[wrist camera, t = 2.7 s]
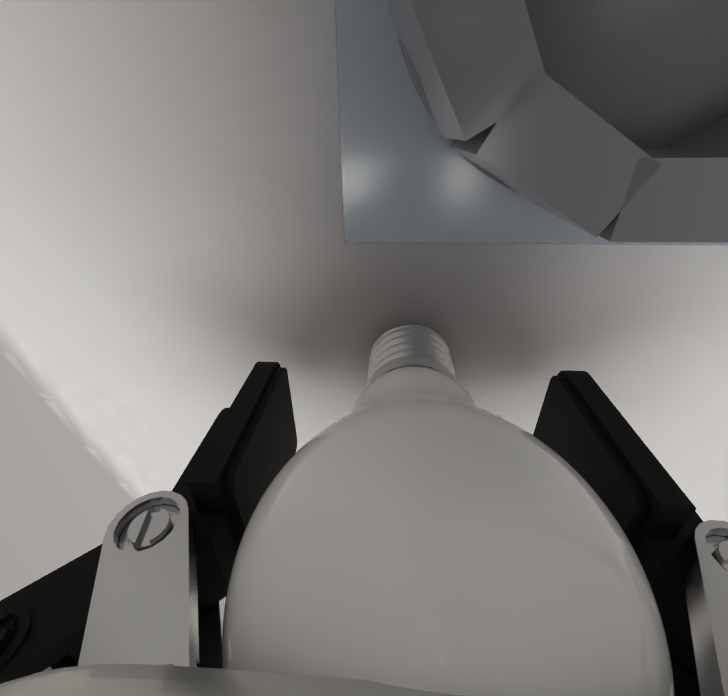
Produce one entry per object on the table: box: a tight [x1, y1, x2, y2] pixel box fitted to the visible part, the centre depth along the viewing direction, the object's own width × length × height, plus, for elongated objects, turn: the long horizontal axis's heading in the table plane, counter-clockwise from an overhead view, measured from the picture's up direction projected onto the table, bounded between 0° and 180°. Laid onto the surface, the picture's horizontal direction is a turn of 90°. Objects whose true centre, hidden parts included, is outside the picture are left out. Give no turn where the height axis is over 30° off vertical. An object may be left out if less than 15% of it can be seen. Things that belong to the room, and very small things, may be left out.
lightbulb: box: [222, 325, 675, 696], centre depth 8 cm, size 6×6×11 cm
